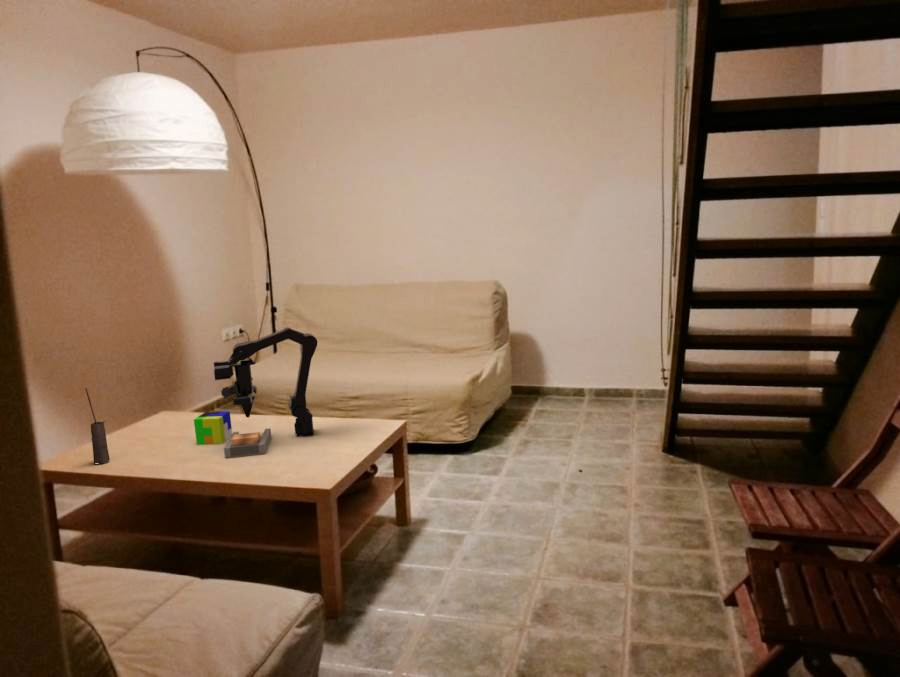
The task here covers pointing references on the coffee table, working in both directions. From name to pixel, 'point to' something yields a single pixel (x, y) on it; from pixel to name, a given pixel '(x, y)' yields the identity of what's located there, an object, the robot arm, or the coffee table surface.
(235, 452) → the chute
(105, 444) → the butter churn
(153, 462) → the coffee table surface
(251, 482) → the coffee table surface
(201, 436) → the puzzle toy
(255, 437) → the orange block
